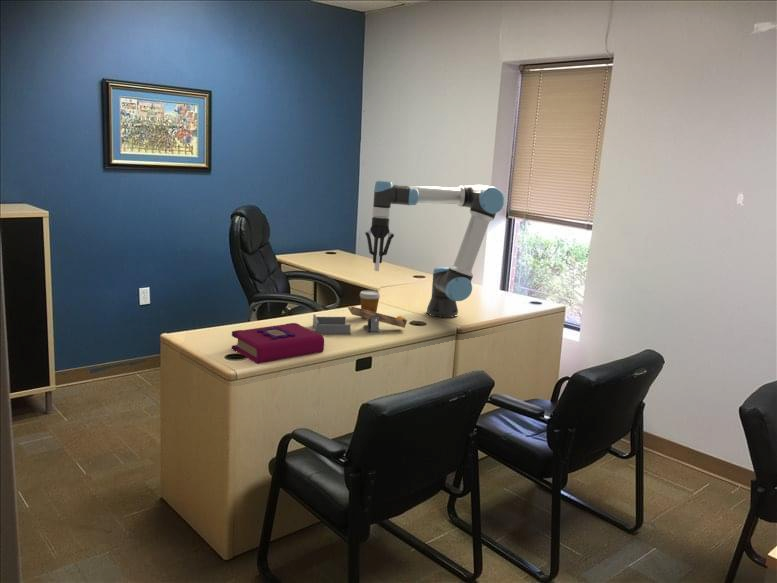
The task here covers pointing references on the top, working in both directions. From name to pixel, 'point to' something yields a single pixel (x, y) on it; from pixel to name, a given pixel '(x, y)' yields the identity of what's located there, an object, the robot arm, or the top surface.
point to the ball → (400, 318)
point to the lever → (381, 317)
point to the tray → (330, 325)
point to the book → (277, 342)
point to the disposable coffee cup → (369, 300)
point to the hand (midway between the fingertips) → (376, 270)
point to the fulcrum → (373, 325)
